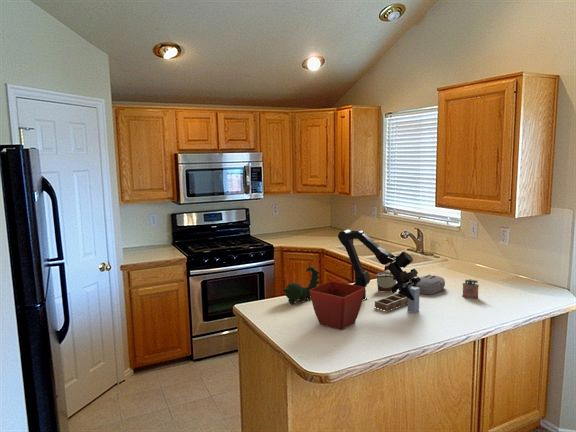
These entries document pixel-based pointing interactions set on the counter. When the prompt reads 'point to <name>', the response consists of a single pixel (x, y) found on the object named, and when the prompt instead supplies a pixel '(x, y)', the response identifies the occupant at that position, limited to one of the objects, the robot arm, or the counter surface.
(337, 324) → the plant pot
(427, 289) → the soft grey pack
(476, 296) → the lighter
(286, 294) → the toy figurine
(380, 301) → the slot organizer
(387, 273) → the food container
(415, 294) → the plug block
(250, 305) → the counter surface
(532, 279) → the counter surface
